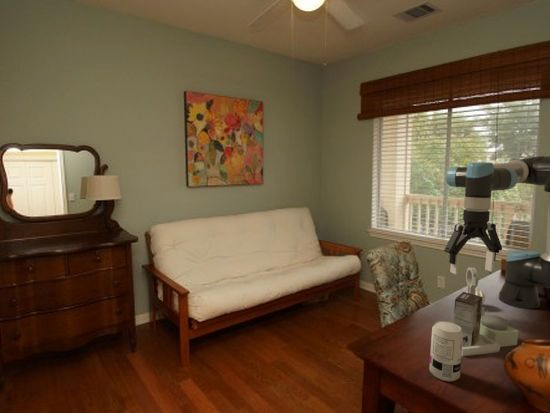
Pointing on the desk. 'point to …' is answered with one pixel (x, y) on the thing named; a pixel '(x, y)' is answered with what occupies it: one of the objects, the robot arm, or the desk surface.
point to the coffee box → (468, 317)
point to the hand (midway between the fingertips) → (471, 272)
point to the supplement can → (446, 351)
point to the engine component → (473, 283)
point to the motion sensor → (479, 294)
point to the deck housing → (492, 336)
